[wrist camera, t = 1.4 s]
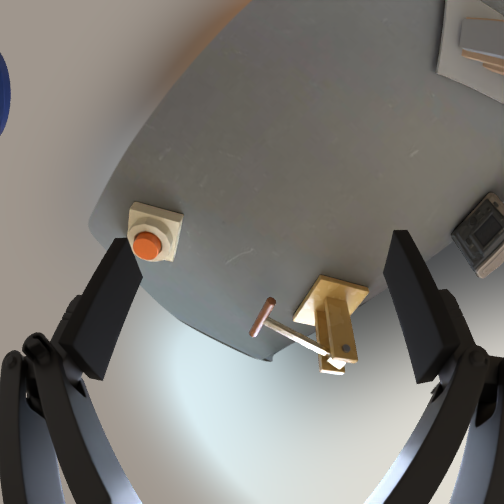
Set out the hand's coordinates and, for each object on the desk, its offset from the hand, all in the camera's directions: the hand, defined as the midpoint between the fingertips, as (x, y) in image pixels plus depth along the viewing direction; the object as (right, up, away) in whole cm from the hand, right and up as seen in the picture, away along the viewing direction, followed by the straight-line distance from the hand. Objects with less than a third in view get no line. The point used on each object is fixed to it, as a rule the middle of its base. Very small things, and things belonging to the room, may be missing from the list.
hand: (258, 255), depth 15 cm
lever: (+8, -13, +33) cm, 36 cm away
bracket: (+14, -9, +41) cm, 44 cm away
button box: (-15, +4, +32) cm, 36 cm away
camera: (+38, +6, +27) cm, 46 cm away
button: (-16, +2, +29) cm, 33 cm away
